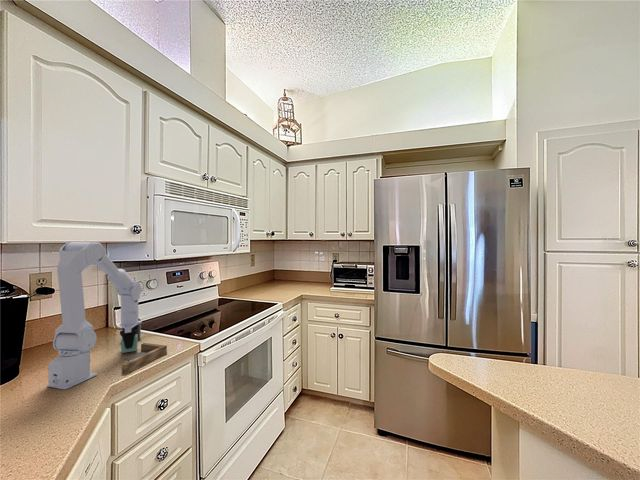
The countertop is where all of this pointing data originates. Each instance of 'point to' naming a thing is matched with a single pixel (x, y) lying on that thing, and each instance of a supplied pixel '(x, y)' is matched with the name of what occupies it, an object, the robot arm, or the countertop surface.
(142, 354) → the mat
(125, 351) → the cube
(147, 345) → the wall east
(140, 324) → the supplement bottle
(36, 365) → the countertop surface
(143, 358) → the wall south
